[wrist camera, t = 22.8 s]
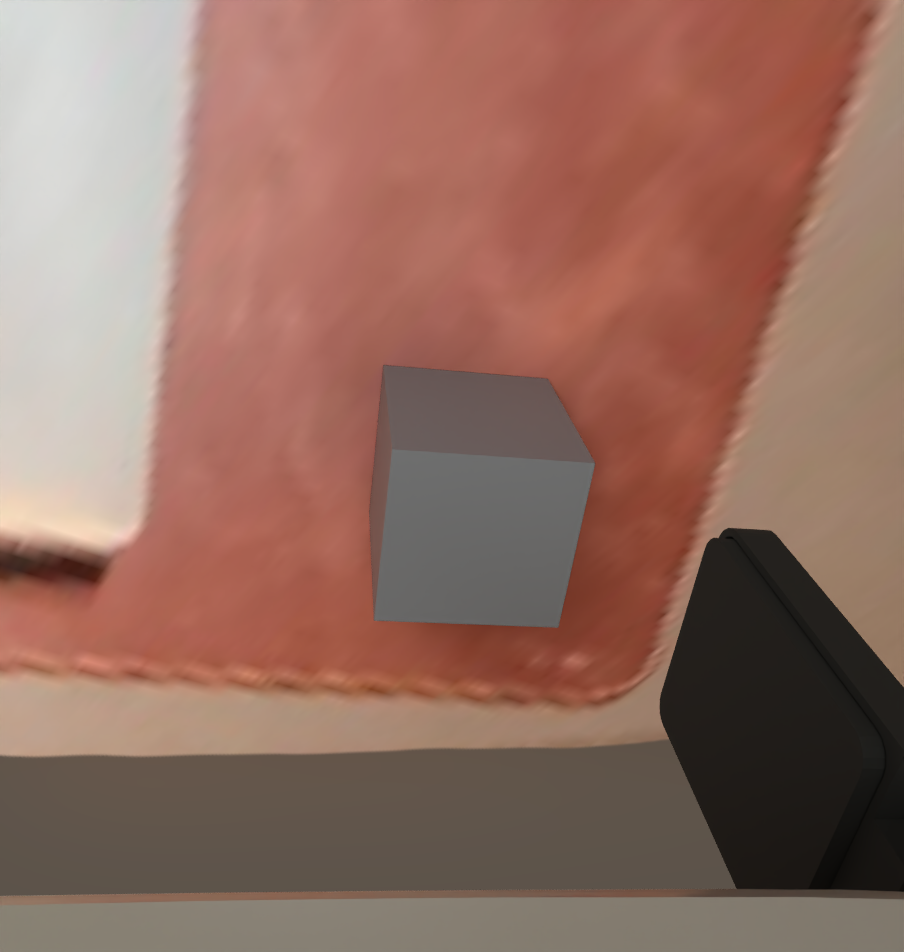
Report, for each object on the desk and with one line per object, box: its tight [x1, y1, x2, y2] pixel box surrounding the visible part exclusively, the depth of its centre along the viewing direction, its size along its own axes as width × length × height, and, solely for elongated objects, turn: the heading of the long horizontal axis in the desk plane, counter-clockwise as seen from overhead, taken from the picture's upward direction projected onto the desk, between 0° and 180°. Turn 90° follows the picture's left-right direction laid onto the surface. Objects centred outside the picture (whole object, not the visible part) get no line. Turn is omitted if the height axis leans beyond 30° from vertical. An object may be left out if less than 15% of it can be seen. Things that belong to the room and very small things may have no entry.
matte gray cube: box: [369, 365, 595, 628], centre depth 38 cm, size 8×8×9 cm
